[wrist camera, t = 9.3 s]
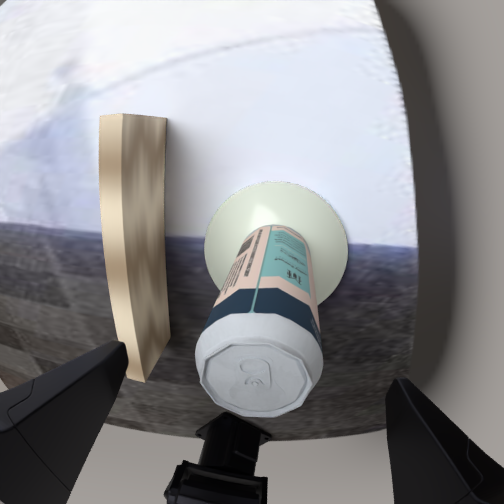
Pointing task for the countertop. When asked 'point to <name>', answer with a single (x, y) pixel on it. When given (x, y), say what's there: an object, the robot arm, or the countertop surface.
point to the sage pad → (279, 213)
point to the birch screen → (135, 234)
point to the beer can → (263, 328)
